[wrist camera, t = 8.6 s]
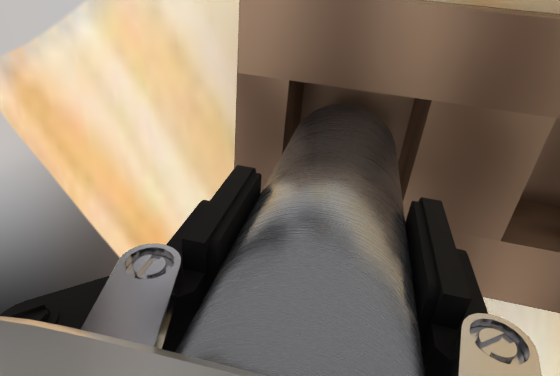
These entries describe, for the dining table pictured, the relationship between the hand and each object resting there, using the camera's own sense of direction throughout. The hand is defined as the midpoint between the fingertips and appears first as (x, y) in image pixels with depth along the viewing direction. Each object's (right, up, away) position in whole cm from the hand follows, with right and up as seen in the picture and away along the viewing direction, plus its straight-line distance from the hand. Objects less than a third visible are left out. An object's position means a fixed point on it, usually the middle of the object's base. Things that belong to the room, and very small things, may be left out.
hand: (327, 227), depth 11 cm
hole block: (+8, +4, +9) cm, 13 cm away
